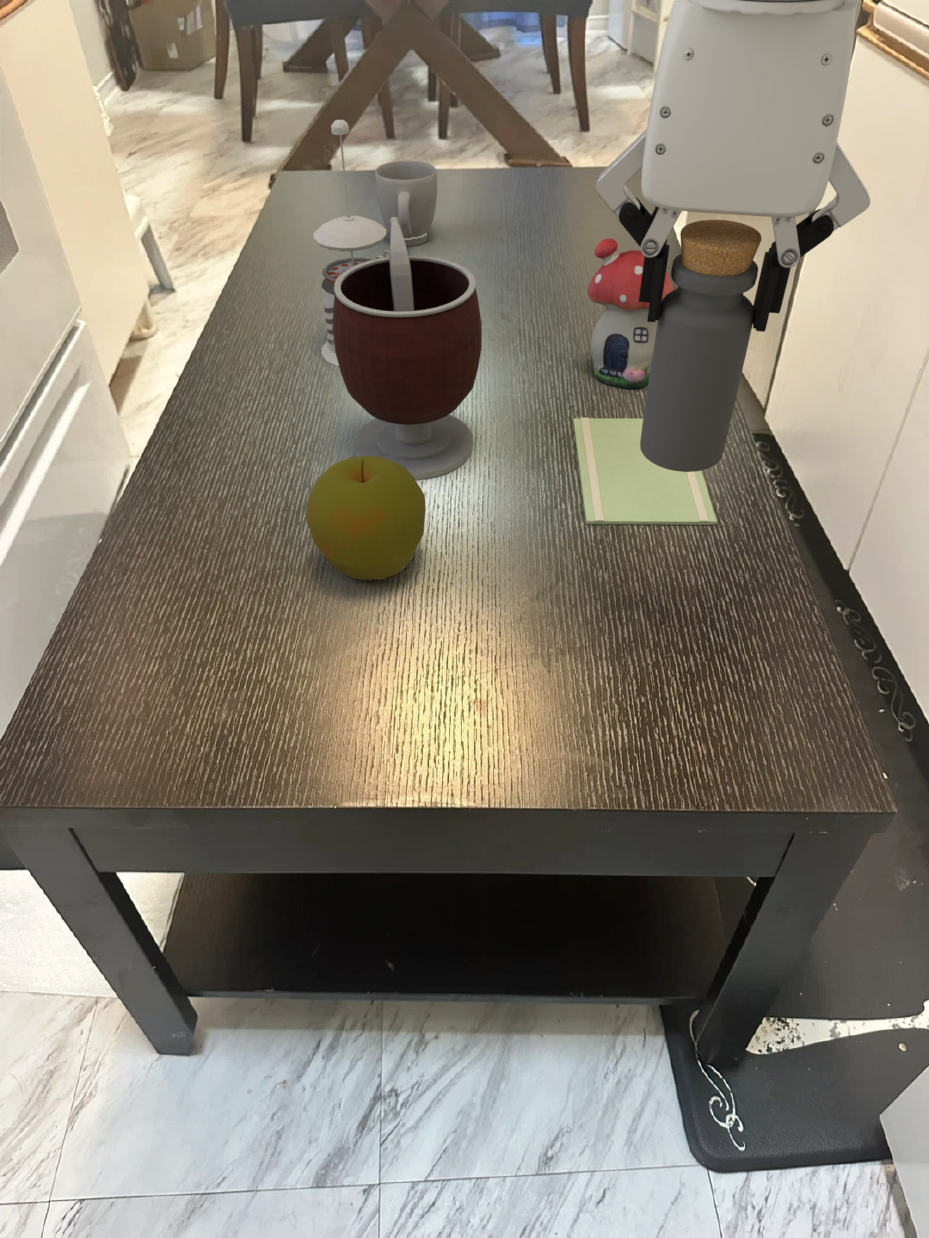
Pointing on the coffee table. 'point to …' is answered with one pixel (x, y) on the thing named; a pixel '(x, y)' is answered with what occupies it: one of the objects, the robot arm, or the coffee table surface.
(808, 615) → the coffee table surface
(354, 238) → the french press
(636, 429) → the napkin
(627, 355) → the decorative ornament
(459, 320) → the mate gourd
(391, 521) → the apple
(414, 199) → the mug
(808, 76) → the robot arm
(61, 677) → the coffee table surface
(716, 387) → the bottle
